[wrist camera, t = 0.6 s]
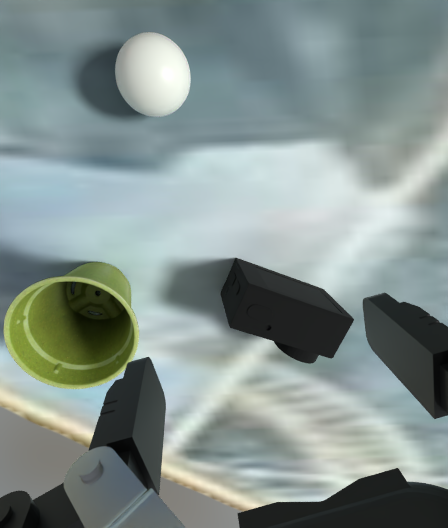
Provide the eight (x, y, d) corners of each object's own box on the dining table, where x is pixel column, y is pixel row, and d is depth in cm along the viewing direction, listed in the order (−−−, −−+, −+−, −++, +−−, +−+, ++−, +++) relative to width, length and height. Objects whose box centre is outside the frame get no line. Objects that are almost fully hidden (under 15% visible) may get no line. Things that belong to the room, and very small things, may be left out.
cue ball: (149, 28, 27) (142, -1, 21) (203, 81, 28) (208, 66, 23) (107, 85, 27) (91, 71, 22) (162, 134, 29) (158, 130, 24)
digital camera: (214, 303, 35) (222, 339, 28) (234, 256, 34) (248, 283, 27) (301, 331, 37) (326, 370, 31) (323, 288, 36) (355, 320, 29)
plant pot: (51, 234, 31) (5, 266, 23) (155, 253, 32) (147, 289, 24) (44, 325, 33) (0, 382, 25) (140, 338, 35) (128, 395, 27)
